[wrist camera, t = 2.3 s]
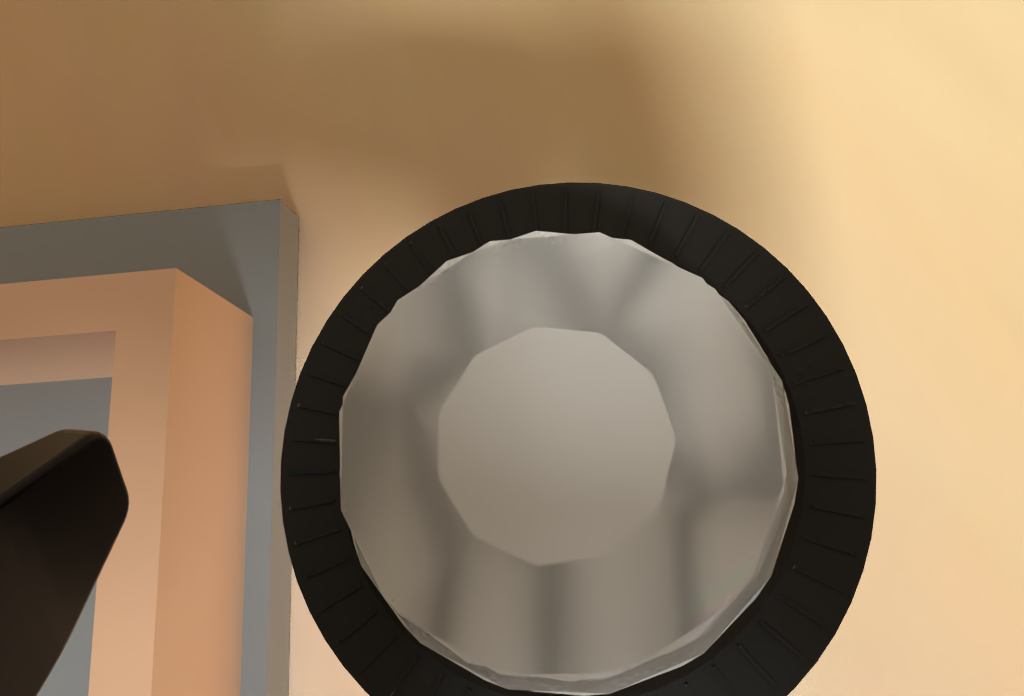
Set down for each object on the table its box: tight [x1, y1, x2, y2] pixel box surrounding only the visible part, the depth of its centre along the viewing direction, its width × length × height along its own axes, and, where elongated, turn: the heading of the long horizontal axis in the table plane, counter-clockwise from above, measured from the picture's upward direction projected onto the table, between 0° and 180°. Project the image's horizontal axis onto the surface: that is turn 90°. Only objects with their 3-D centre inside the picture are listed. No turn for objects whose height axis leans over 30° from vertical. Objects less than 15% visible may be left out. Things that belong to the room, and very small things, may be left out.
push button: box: [280, 183, 876, 696], centre depth 12 cm, size 7×5×10 cm
